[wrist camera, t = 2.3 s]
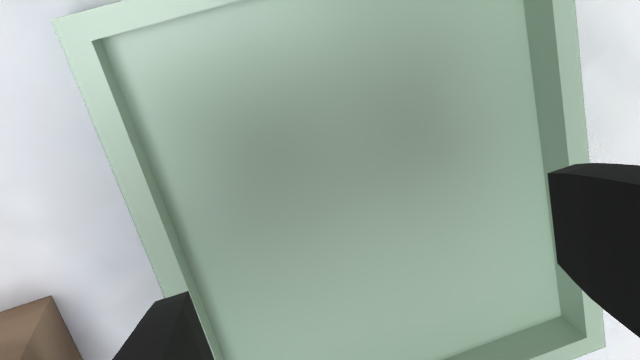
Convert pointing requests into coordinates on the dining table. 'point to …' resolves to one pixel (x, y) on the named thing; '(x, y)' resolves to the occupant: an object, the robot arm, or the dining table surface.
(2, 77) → the dining table surface
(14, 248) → the dining table surface
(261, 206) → the sage green tray
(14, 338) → the walnut block
